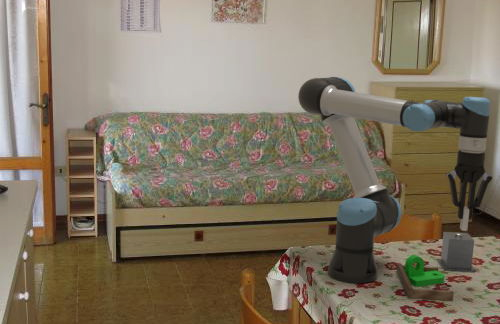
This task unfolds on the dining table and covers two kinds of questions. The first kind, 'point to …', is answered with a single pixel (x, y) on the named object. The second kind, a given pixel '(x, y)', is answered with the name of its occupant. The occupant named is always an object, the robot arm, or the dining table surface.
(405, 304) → the dining table surface
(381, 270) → the dining table surface
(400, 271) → the bay
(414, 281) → the mechanical part
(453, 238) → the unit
